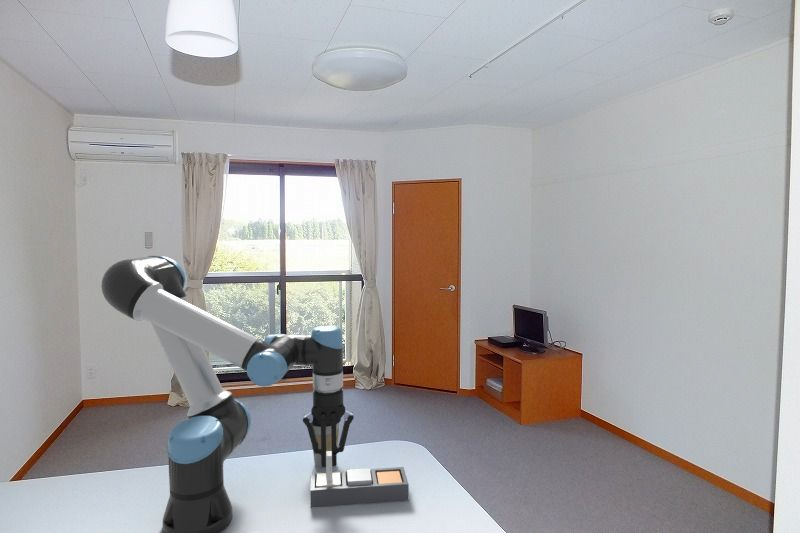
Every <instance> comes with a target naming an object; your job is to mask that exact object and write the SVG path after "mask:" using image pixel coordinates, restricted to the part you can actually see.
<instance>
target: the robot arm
mask: <svg viewBox="0 0 800 533" xmlns="http://www.w3.org/2000/svg"><path fill="white" fill-rule="evenodd" d="M185 285H186V273H185V271H184V269H183V268H182V266H181V265H180V264H179V263H178V262H177V261H176V260H174V259H172V258H170V257H168V256H163V255H148V256H143V257H138V258H130V259H129V258H128V259H124V260H120V261H117V262H115V263H113V264H112V265H111V266H110V267H108V268H107V270H105V273H104V274H103V277H102V280H101V285H100V286H101V292H102V295H103V297H104V299H105V301H106V302H107V303H108V304H109V306H111V307H112V308H114V309H115V310H116V311H118V312H120V313H122V314H123V315H125V316H127V317H128V318H130V319H132V320H135V321H136V322H141V321H147V322H149V323H150V324H151V326H152V328H153V330H154V333H155V334H156V337H157V338H158V341H159V343H160V344H161V347H162V349H163V351H164V353H165V356H166V357H167V360H168V362H169V365H170V367H171V368H172V370H173V372H174V376H175V377H176V380H177V381H178V382H179V385H180V387H181V390H182V392H183V394H184V396H185V398H186V400H187V403H188V404H189V408H188V411H187V414H186V415H187V417H188V419H184V420H181V422H179V423H177V424H175V426H173V428H172V429H171V430H170V432H169V434H168V440H167V451H166V452H167V457H168V458H167V460H168V462H167V463H168V477H169V478H168V480H169V482H168V483H169V497H168V501H167V504H166V507H165V509H164V513H163V517H162V533H221V532H222V531H223V530H224V529H226V528H227V527H228V526H229V524H230V523H231V522H232V519H233V505H232V502H231V500H230V498H229V495H228V492H227V490H226V488H225V483H224V462H225V461H226V460H227V459H228V457H230V455H231V454H232V453H233V452H234V451H235V450H236V449H237V448H238V447H239V446H240V445H241V444H242V443H243V441H244V440H245V438H246V437H247V435H248V434H249V431H250V429H251V422H252V421H251V420H252V418H251V414H250V411H249V409H248V408H247V406H246V405H245V403H243V402H241V401H238V399H235V397H234V395H233V393H232V391H229V390H226V389H224V388H223V386H222V385H221V383H220V380H219V378H218V376H217V373H216V372H215V370H214V369H215V368H214V367H213V364H212V363H211V361H210V359H209V357H208V355H207V352H208V353H211V354H212V355H215V356H217V357H218V358H220V359H222V360H224V361H226V362H228V363H230V364H232V365H234V366H237V367H238V368H240V369H242V370H244V371H246V374H247V377H248V378H249V380H250V381H251V382H252V383H253V384H254V385H256V386H258V387H262V388H263V387H264V388H265V387H266V388H267V387H270V386H272V385H274V384H276V383H277V382H279V381H280V380H282V379H283V378H284V376H285V375H286V374H287V372H288V371H290V370H291V369H292V368H293V367H294V366H312V388H313V390H312V402H313V403H312V407H311V411H310V412H308V413H307V414H306V413H305V414H303V415H302V422H303V423H304V425H305V427H306V428H307V432H308V436H309V439H310V443H311V448H312V447H313V449H312V451H313V450H314V453H315V454H320V455H321V465H322V467H326V468H325V472H326V481H332V471H333V467H337V466H338V465H337V461H338V460H337V458H338V457H337V455H338V454H339V453H343V452H344V450H345V446H346V442H347V438H348V435H349V430H350V425H351V423H352V422H353V420H354V419H355V418H354V417H355V416H354V413H353V412H352V411H348V410H346V406H345V405H344V388H343V387H344V370H343V368H344V367H343V363H344V362H343V361H344V360H343V359H344V358H343V357H344V355H343V354H344V344H343V333H342V329H341V328H340V327H338V326H335V325H319V326H316V327H314V328H313V329H312V331H311V334H285V333H278V334H269V335H266V337H265V338H264V340H262V339H260V338H258V337H256V336H255V335H252V334H250V333H248V332H246V331H245V330H242V329H241V328H239V327H237V326H234V325H232V324H231V323H229V322H227V321H224V320H223V319H221V318H219V317H217V316H215V315H213V314H211V313H209V312H207V311H205V310H203V309H201V308H199V307H197V306H195V305H194V304H191V303H189V302H187V299H188V296H187V294H186V292H185V290H184V289H185ZM313 417H314V418H315V419H316V420H317V422H318V423H319V424H321V447H319V445H318V441H317V438H316V434H315V430H314V427H313V423H312V421H313ZM342 417H343V419H344V423H343V425H342V426H343V427H342V430H341V435H340V438H339V441H338V442H339V443H338V445H337V446H336V424H337V423H338V422H339V420H340V419H341V420H342ZM339 423H340V422H339ZM326 425H331V439H332V451H326Z"/></svg>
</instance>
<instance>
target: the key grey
mask: <svg viewBox="0 0 800 533" xmlns="http://www.w3.org/2000/svg"><path fill="white" fill-rule="evenodd" d="M370 469H371V468H370V467H369V468H354V469H351V468H350V469H347V484H348V486H354V485H369V484H372V479H371V472H370Z"/></svg>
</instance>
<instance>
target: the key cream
mask: <svg viewBox="0 0 800 533" xmlns="http://www.w3.org/2000/svg"><path fill="white" fill-rule="evenodd" d="M338 486H341V481H340V472H336V473H332V481H326V473H320V474H317V483H316V488H323V487H338Z"/></svg>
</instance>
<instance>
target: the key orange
mask: <svg viewBox="0 0 800 533" xmlns="http://www.w3.org/2000/svg"><path fill="white" fill-rule="evenodd" d="M400 482H402V480H401V476H400V472H399V471H389V472H377V484H385V483H400Z"/></svg>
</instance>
